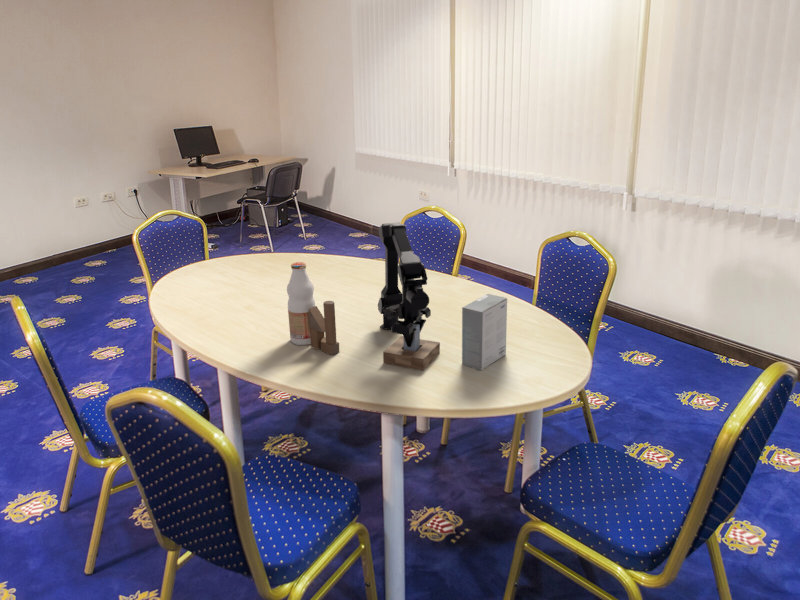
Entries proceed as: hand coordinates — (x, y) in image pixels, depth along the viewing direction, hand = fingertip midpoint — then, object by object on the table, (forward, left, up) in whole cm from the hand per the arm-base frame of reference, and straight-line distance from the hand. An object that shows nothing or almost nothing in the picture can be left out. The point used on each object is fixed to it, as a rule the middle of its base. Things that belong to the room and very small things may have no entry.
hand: (411, 344), depth 205 cm
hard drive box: (-8, +22, -5) cm, 24 cm away
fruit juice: (+1, -41, -5) cm, 41 cm away
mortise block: (0, 0, -5) cm, 5 cm away
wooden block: (+5, -30, -5) cm, 31 cm away
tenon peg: (0, 0, -2) cm, 2 cm away
